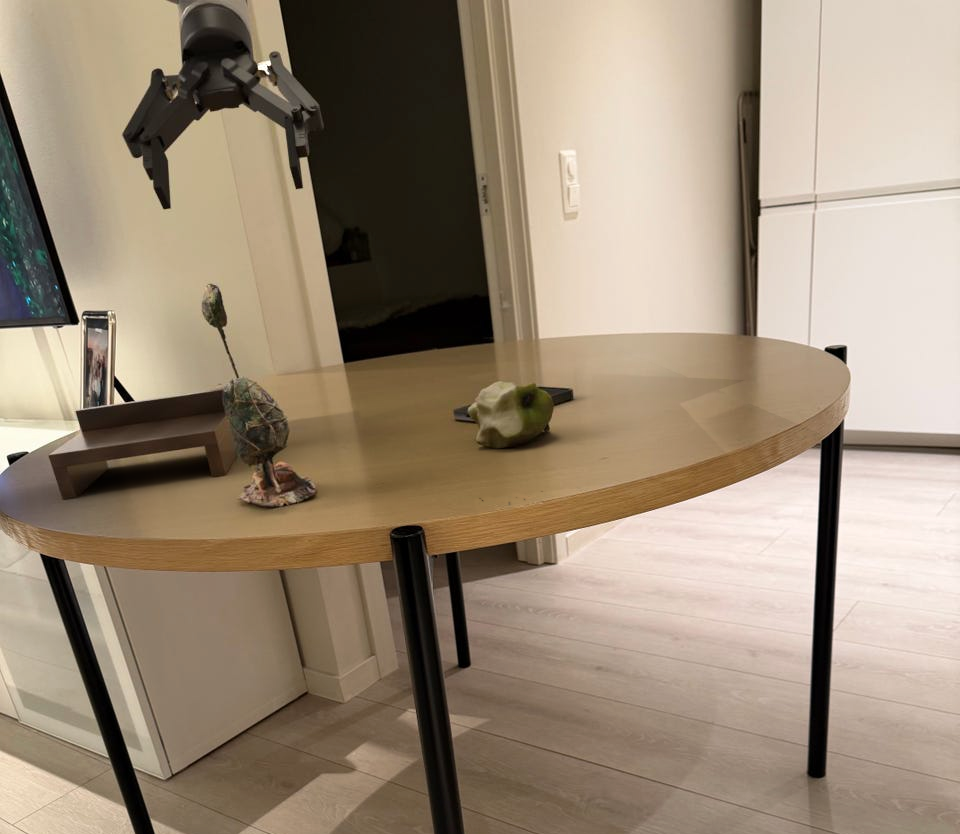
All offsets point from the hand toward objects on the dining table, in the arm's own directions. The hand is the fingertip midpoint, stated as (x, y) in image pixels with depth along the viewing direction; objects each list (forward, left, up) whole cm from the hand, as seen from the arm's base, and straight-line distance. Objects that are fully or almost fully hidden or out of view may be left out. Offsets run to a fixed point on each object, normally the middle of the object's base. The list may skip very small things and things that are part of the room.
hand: (229, 188), depth 89 cm
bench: (-16, +6, -28) cm, 33 cm away
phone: (+28, +12, -28) cm, 41 cm away
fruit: (+25, -6, -28) cm, 38 cm away
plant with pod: (0, -15, -28) cm, 32 cm away
